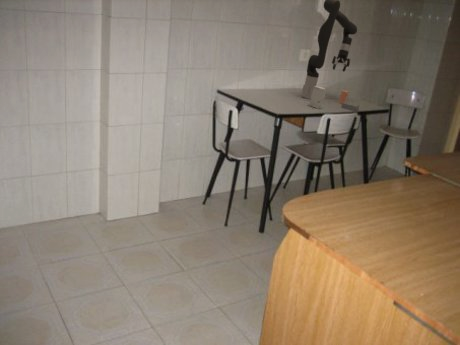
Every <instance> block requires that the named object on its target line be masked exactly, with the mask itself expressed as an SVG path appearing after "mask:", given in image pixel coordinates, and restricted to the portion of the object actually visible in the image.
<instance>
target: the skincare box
mask: <svg viewBox="0 0 460 345" xmlns="http://www.w3.org/2000/svg"><path fill="white" fill-rule="evenodd" d="M327 90H328V89H327V88H325V87H322V86H320V85H316V86H314V89H313V92H312V96H311V99H309V103H308V106H309V107H313V108H316V109H322V107H323V104H324V100H325V96H326V93H327Z"/></svg>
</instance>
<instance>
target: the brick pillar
mask: <svg viewBox="0 0 460 345" xmlns="http://www.w3.org/2000/svg"><path fill="white" fill-rule="evenodd" d="M340 93H341V94H340V97H339V100H338V104H340V105H342V103H344V102H346V101H347V100H348V97H349V93H350V91H348V90H344V89H343V90H341V92H340ZM347 102H348V101H347Z"/></svg>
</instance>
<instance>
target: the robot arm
mask: <svg viewBox="0 0 460 345" xmlns="http://www.w3.org/2000/svg"><path fill="white" fill-rule="evenodd" d="M323 8H324V10H325V11H326V12H327V13H328V17H327V19H326V20H325V21H324V23H322V25H321V27H320V28H319V31H318V35H317V43H318V54H317V55H316V54H312V55H310V57H309V59H308V62H307V68H306V78H305V80H304V84H303V86H302V89H301V90H302V91H301V95H300V96H301V97H302V98H304V99H308V100H310V99H311V96H312V92H313V89H314V86H318V85H317V84H318V80H319V76H320V74H319V72H318V71H317V70H320V69H322V68H323V66H324V65H325V61H326V54H327V50H328V47H329V42H330V39H331V35H332V32H333V28H334V24H335V22H336V21H337V22H338V23H339V25H340V26H341V28H343V36H342V41H341V45H340V47H339V51H338V54H337V56H335V55H334V56H333V58H332V61H331V64H332V70H333V71H335V70H336V67H337V65H338V64H343V68H342V72H345V71H346V70H347V69H346V68H348V67H350V63H351V59H350V58H348V57H349V53H350V50H351V45H352V42H353V39H352V38H351V36H350V35H352V36H353V35H356V34H357V32H358V27H357V25H356V24H355V23H353V22H352V21H351V20H349V18H348V17H347V16H346V15H345V14H344V13H343V12H341V11H340V8H341V1H340V0H325V1H324V2H323Z"/></svg>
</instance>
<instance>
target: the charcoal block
mask: <svg viewBox="0 0 460 345" xmlns="http://www.w3.org/2000/svg"><path fill="white" fill-rule="evenodd" d="M341 109H346V110H348V111H352V112H357V111H359V109H360V104H358V103H354V102H351V101H346V102H344V103H342V104H341Z"/></svg>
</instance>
